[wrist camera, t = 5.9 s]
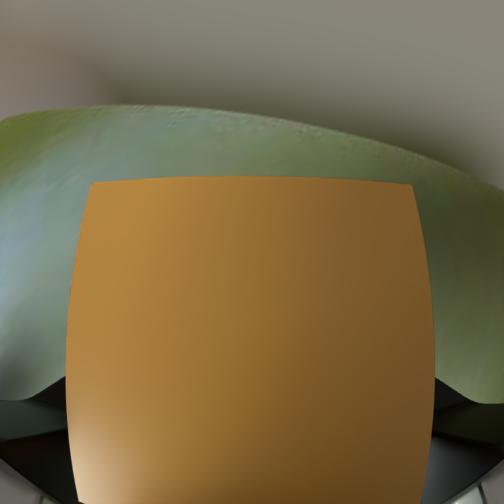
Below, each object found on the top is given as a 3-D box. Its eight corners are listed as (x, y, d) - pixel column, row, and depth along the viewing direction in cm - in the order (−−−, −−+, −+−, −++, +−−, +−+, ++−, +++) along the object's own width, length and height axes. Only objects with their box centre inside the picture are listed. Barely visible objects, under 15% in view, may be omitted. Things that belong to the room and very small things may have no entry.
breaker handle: (296, 393, 13) (418, 505, 2) (206, 392, 13) (79, 500, 2) (295, 307, 14) (411, 184, 3) (208, 306, 14) (92, 183, 3)
